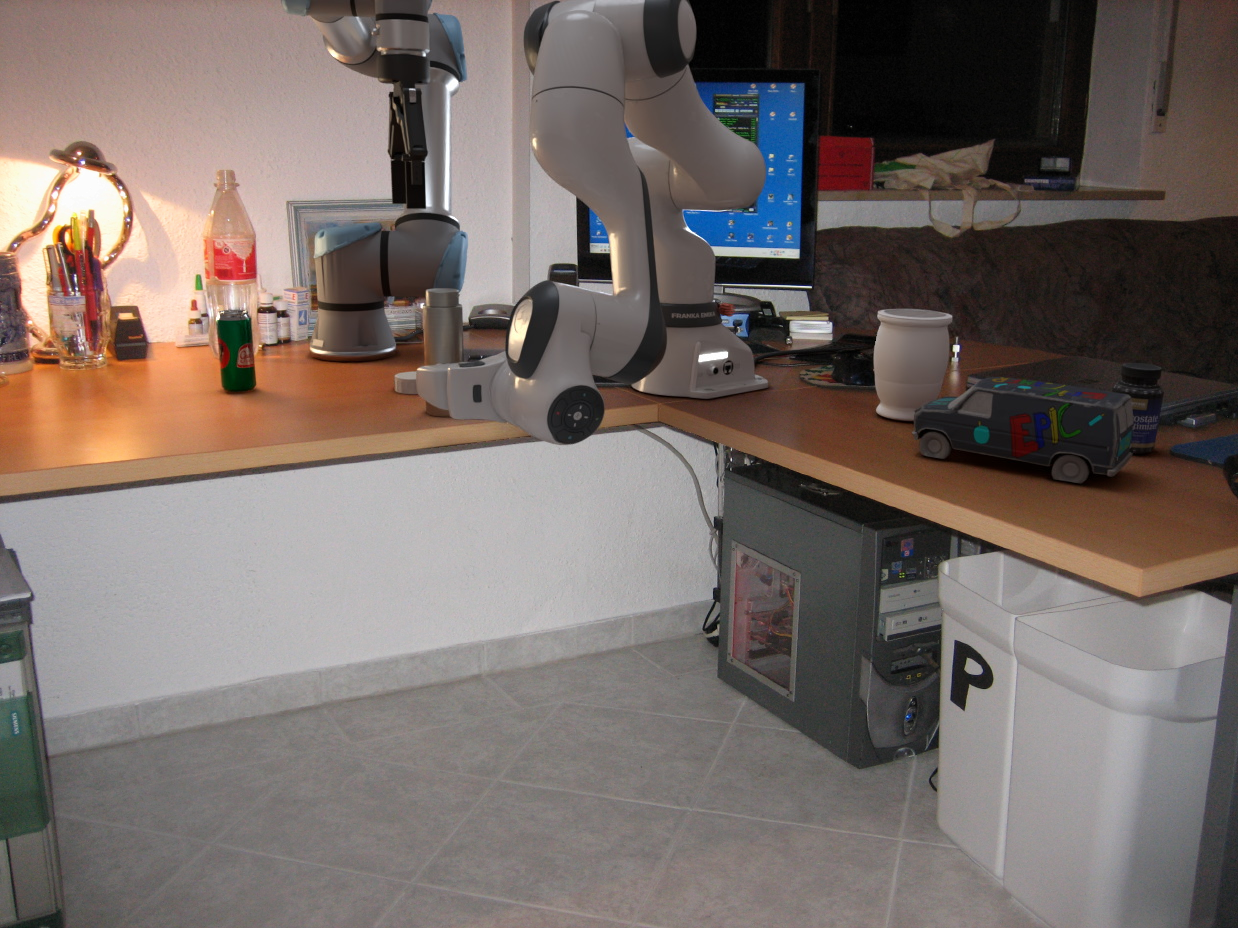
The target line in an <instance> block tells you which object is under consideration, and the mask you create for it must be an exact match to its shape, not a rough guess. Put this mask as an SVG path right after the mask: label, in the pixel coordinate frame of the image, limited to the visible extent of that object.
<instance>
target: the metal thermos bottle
mask: <svg viewBox="0 0 1238 928" xmlns="http://www.w3.org/2000/svg"><path fill="white" fill-rule="evenodd" d="M425 292H426V297H425V303H424V304H423V305H422V326H423V328H422V329H424V333H423V353H424V354H423V355H424V357H423V359H424V366H430V365H437V364H439V363H448V364H452V363H462V362H465V361H464V359H465V358H464V330H463V326H464V319H463V318H464V316H463V312H464V311H463V305H462V304H461V303H460V295H461V294H460V293H459V290H457V289H452V288H433V289H427V290H426V291H425ZM425 413H426V414H427V415H428V416H432V417H442V418H443V417H444V418H445V417H447V418H448V417H451V416H450V414H449V410H444V409H440V408H438V407H435V406H434V405H432V404H430V403H428V402H427V401H425Z"/></svg>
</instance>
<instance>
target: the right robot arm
mask: <svg viewBox="0 0 1238 928" xmlns="http://www.w3.org/2000/svg"><path fill="white" fill-rule="evenodd" d="M696 42H697V24H696V18H695V15H694V12H693V8H692V5H691V3H690V0H563V1H561V0H553V1H550V2H547V3H544V4H541V6H538V7H536V8H535V9H534V10H533V11H532V13H531V14H530V16H529V18H528V19H527V20H526V23H525V26H524V30H523V52H524V57H525V60H526V64H527V66H528V69H529V71H530V73H531V75H532V76H533V79H532V86H531V95H530V107H529V119H528V133H529V143H530V149H531V151H532V154H533V156H534V158H535V160H536V162H537V163H538V165H539V166H540V168H541V169H542V170H543V171H544V173H545V174H546V175H547V176H548V177H549V178H550V179H551V180H552V181H554V182H555V183H556V184H557V185H559V186H560V187H561V188H564V189H565V190H566V191H568V192H569V193H571V194H572V195H573V196H575V197H576V198H577V199H578V200H579V201H581V202H583V204H585V205H586V206H587V208H589V209H590V210H591V211H592V212H593V213H594V214H595V215H596V217H598V219H599V220H600V222H601V223H602V225H603V227H604V228H605V231H606V234H607V237H608V247H609V259H610V268H611V269H610V270H611V281H612V292H613V293H612V294H610V293H604V292H602V291H596V290H592V289H587V288H583V287H582V286H577V285H572V284H567V283H562V282H558V281H552V280H549V279H545V280H542V281H540V282H537V284H536V283H535V284H534V285H533V286H532V287H531V288H529V289H528V290H527V291H526V292H525V293H524V294H523V296H521V298H519V300H518V301H517V302H516V303H515V305H514V307H513V308H512V310H511V313H510V316H509V319H508V323H507V327H506V335H505V343H504V344H505V345H504V346H505V347H504V350H503V351H502V352H499V353H497V354H495V355H494V354H493V355H490V356H487V357H485V358H482V359H479V360H474V361H473V360H472V361H464V362H462V363H452V364H448V363H439V364H437V365H430V366H425V365H422V366H419V367H418V368H417V369H416V371H417V372H416V382H417V392H418V394H417V395H418V396H419V397H420V398H421V399H422V400H424V401H425V402H426V401H427V402H428V403H430V404H432V405H434V406H435V407H438V408H440V409H444V410H449V414H450V416H449V417H450V418H452V419H454V420H464V421H492V422H498V423H502V424H510V425H512V426H514V427H517V428H519V429H520V430H522V431H523V432H524V433H526V434H528V435H530V436H532V437H534V438H535V439H538V440H540V441H543V442H545V443H548V444H552V445H556V446H570V445H575V444H578V443H581V442H583V441H584V440H585V441H586V439H588V438H589V437H591V436H593V434H594V433H596V431H597V430H599V427H600V426H601V424H602V423H603V420H604V417H605V412H606V405H605V404H606V402H605V400H604V396H603V395H602V393H601V391H600V390H599V388H598V386H597V385H596V382H595V380H594V376H598V377H601V378H603V379H607V380H610V381H614V382H616V383H617V382H618V383H620V384H625V385H631V387H632V388H633V389H634V390H637V391H639V392H642V393H646V394H651V395H658V396H668V397H669V396H670V397H684V398H694V399H702V400H708V399H709V400H710V399H714V398H721V397H726V396H731V395H736V394H742V393H747V392H753V391H759V390H763V389H767V388H769V381H768V379H766V378H764V377H763V376H761V375H758V374H756V367H755V365H756V363H757V362H759V361H763V360H766V359H770V358H775V357H783V356H794V355H806V354H820V353H822V354H823V353H836V351H838V350H842V349H846V348H858V347H859V348H860V347H864V345H860V344H858V345H859V346H852V345H850V346H851V347H843V346H840V347H841V348H829V347H823V348H824V349H819V348H820V347H815V348H801V349H800V348H798V349H787V350H779V351H773V352H772V351H771V352H766V353H762V354H759V355H756V356H754V353H753V351H752V348H751V347H750V346H749V345H748V344H747V343H745V342H744V341H743V340H742V339H741V338H739V337H738V335H736V334H735V333H734V332H732V331H731V330H730V329H729V328H728V327H727V326H726V325H725V324H723V319H722V316H725V317H728V318H731V317H733V316H734V314H735V313H736V312H735V311H736V306H735V305H734V304H733V303H727V302H723V303H721V304H720V303H719V302H718V301H717V300H715V299H714V297H715V280H716V279H715V277H716V254H715V252H714V249H713V247H712V246H711V245H710V243H709V242H708V241H707V240H705V239H704V238H703V237H701V236H699V235H698V234H696V233H694V232H693V231H692V230H691V229H690V228H689V226H688V224H687V223H686V220H685V217H684V211H703V212H725V211H731V210H738V209H743V208H744V209H745V208H749V207H750V206H752V205H753V204H754V203H755V202H756V201H757V200H758V199H759V197H760V195H761V194H762V191H763V190H764V187H765V184H766V178H767V168H766V167H767V166H766V161H765V158H764V156H763V154H762V152H761V150H760V149H759V147H758V146H757V144H756V143H755V142H753V141H751V140H748V139H746V138H744V137H742V136H740V135H738V134H737V133H735V132H734V131H732V130H731V129H729V128H728V127H727V126H726V125H725V124H724V123H723V122H721V121H720V120H719V119H718V118H717V117H716V116H715V115H714V113H712V112H711V111H710V109H709V108H708V107H707V106H706V104H705V103H704V101H703V99H702V98H701V96H700V93H699V90H698V88H697V85H696V83H695V80H694V78H693V77H694V76H693V74H692V71H691V68H690V65H689V64H690V63H691V61H692V60H693V58H694V56H695V55H694V54H695V50H696ZM626 128H627V129H626ZM626 130H628V131H629V132H630V134H631V135H632V137H628V136H627V131H626ZM873 334H876V335H877V332H876V331H875V332H873ZM838 352H839V351H838Z"/></svg>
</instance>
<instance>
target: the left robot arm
mask: <svg viewBox="0 0 1238 928" xmlns="http://www.w3.org/2000/svg"><path fill="white" fill-rule="evenodd" d="M280 3H281V7H282V9H283V11H284V12H285V13H286V14H289V15H292V16H293V15H295V16H301V17H306V16H309V17H310V19H311V20H312V21H313V23H314V24H315V26H316V27H317V28H318V30H319V31H320V32H321V35H322V40H323V43H324V46H325V48H326V50H327V51H328V53H329V55H330V56H331V57H332V58H333V59H334V60H336V61H337V62H338V63H339V64H341V65H343V66H344V67H346V68H347V69H349V70H351V71H354V72H356V73H359V74H361V75H364V76H367V77H370V78H373V79H377V81H378V82H379V83H381V84H387V85H393V91H389V92H388V95H387V96H388V104H389V105H388V107H389V108H388V109H389V110H388V137H387V138H388V141H387V144H388V145H387V147H388V148H387V154H388V156H389V158H390V182H391V183H390V184H391V185H390V186H391V202H392V203H391V204H392V205H403V211H402V213H401V214H399V216H397V217H396V219H395V220H394V230H383V227H382V225H381V223H380V222H378V221H373V222H361V223H352V224H351V223H350V224H345V225H344V224H343V225H337V226H330V227H326V228H322V229H319V231H317V232H316V234H315V235H314V255H313V259H314V264H315V265H314V266H315V280H316V297H317V310H318V311H317V316H316V321H315V323H314V327H313V331H312V335H311V338H310V342H309V355H310V356H311V357H312V358H314V359H317V360H323V361H331V362H366V361H376V360H382V359H387V358H390V357H394V356H395V355H396V354H397V343H396V342H407V341H410V340H412V339H413V338H414V337H415V336H418V335H421V334H424V330H420V329H421V328H419V329H418V328H417V329H415V330H413V331H411V332H410V333H409V334H407V335H402V336H394V333H393V331H392V329H391V325H390V323H389V320H388V317H387V314H386V311H385V298H386V297H387V298H389V297H390V298H426V292H425V291H426V290H427V289H433V288H452V289H457V290H459V294H460V293H461V291H462V290H463V286H464V283H465V277H466V270H467V260H468V249H469V236H468V233H467V232H466V231H463V230H461V224H460V221H459V220H458V218H456V217H455V216H454V215H452V98H453V97H454V96H455V95H457V94H458V92H459V90H460V83H463V82H466V81H467V80H468V71H467V61H466V54H465V44H464V38H463V31H462V26H461V23H460V22H461V21H460V20H459V19H458V17H456V16H454V14H453V15H452V14H444V13H438V12H433V13H429V11H430V8H431V6H432V3H433V0H280ZM469 325H470V324H467V325H466V324H465V325H463V331H468V330H472V329H474V327H475V326H474V325H471V326H469ZM415 331H416V332H415ZM413 332H414V333H413Z"/></svg>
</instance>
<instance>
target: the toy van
mask: <svg viewBox="0 0 1238 928" xmlns="http://www.w3.org/2000/svg"><path fill="white" fill-rule="evenodd" d="M1134 427H1135V426H1134V418H1133V410H1132V401H1131V396H1129V395H1127V394H1121V393H1115V392H1112V391H1108V390H1103V389H1102V390H1100V389H1094V388H1089V387H1081V386H1076V385H1068V384H1061V383H1054V382H1047V381H1042V380H1041V381H1040V380H1032V379H1026V378H1025V379H1024V378H1016V377H1015V378H1014V377H1003V376H989V377H985V378H982V379H981V380H979V381H977V382H976V383H975V384H974V385H972V386H971V387H970V388H969V389H967V390H966V391H964V392H963V393H962V394H960V395H959V396H950V395H946V396H942V397H939V398H937V399H936V400H934V401H931V402H929V403H926V404H924V405H923V406H921V407H919V408H918V409H916V410H915V414H914V421H913V431H912V432H911V435H912V438H913V440H914V441H918V449H919V450H918V451H919V452H920V453H921V455H922V456H925V457H931V458H937V459H942V460H945V459H947V458H948V457H949V456H950V455H951V452H952V449H953V450H958V451H963V452H969V453H974V454H979V455H984V456H990V457H991V456H992V457H997V458H1002V459H1008V460H1013V461H1017V462H1018V461H1019V462H1024V463H1028V464H1034V465H1039V466H1043V467H1044V466H1045V467H1051V466H1052V467H1051V476H1052V479H1053V480H1058V481H1062V482H1068V483H1074V484H1083V483H1084V482H1086V481H1087V480H1088V479H1089V475H1090V473H1091V472H1092V474H1095V475H1105V476H1107V477H1115V475H1116V474H1118V473H1119V472H1120V471H1121V470H1122V469H1123V468H1125V466H1126V464H1127V463H1129V462H1130V460H1131V458H1132V456H1133V455H1134V453H1131V452H1129V451H1130V448H1131V441H1132V436H1133V430H1134ZM1090 471H1091V472H1090Z"/></svg>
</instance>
